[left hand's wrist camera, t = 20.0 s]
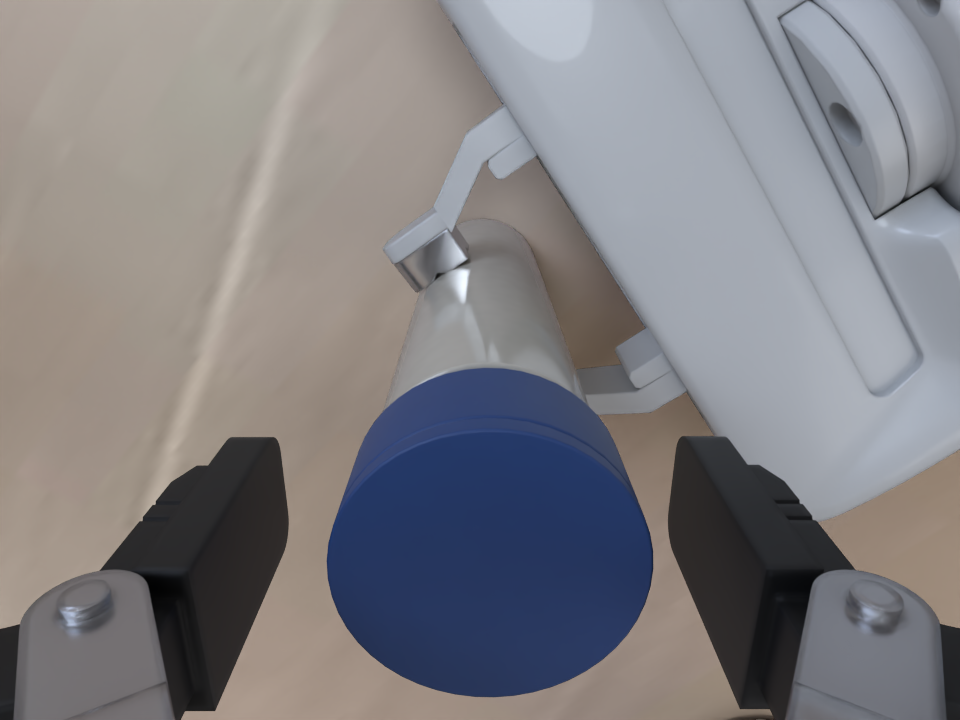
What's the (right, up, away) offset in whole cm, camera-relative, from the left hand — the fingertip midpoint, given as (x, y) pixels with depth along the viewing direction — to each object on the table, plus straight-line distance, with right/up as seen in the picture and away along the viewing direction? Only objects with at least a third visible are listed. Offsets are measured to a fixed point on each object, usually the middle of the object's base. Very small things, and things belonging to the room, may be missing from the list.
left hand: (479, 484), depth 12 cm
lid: (0, -1, -2) cm, 2 cm away
